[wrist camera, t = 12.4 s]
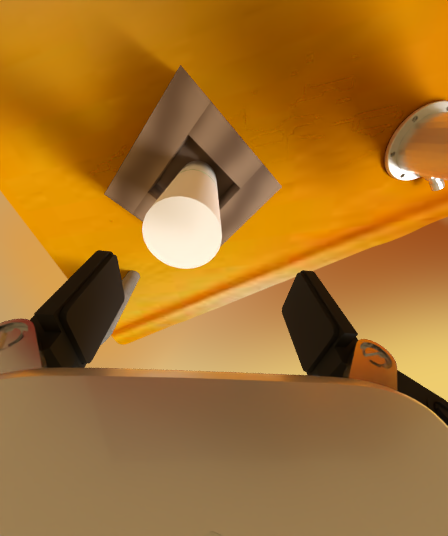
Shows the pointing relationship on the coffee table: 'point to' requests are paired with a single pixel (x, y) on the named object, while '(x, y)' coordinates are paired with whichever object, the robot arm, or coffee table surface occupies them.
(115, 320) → the hip flask
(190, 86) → the walnut well block
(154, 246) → the cylindrical container
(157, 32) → the coffee table surface
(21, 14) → the coffee table surface
